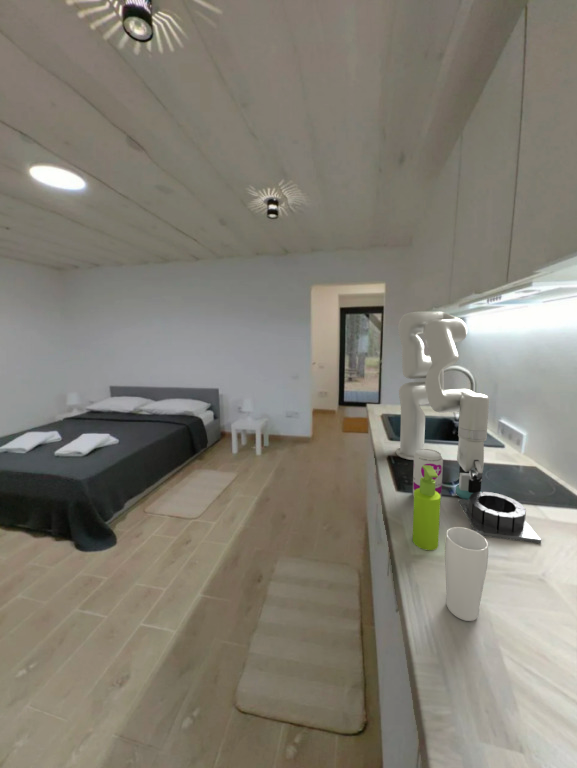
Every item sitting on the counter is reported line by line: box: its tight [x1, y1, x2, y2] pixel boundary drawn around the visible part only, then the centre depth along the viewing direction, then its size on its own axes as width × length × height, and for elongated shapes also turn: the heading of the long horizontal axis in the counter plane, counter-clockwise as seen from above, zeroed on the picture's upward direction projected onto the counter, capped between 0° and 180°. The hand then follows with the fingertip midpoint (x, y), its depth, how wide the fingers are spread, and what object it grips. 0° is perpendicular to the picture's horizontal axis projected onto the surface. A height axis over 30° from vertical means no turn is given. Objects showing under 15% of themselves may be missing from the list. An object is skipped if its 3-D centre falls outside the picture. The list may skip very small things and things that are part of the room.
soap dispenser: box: [412, 465, 442, 551], centre depth 73 cm, size 6×7×20 cm
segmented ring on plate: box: [458, 491, 542, 544], centre depth 82 cm, size 16×14×5 cm
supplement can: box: [412, 448, 444, 497], centre depth 94 cm, size 8×8×15 cm
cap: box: [455, 473, 476, 500], centre depth 95 cm, size 7×7×7 cm
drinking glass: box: [444, 526, 489, 622], centre depth 55 cm, size 7×7×15 cm
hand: (469, 484), depth 95 cm, fingers open, 9 cm apart
